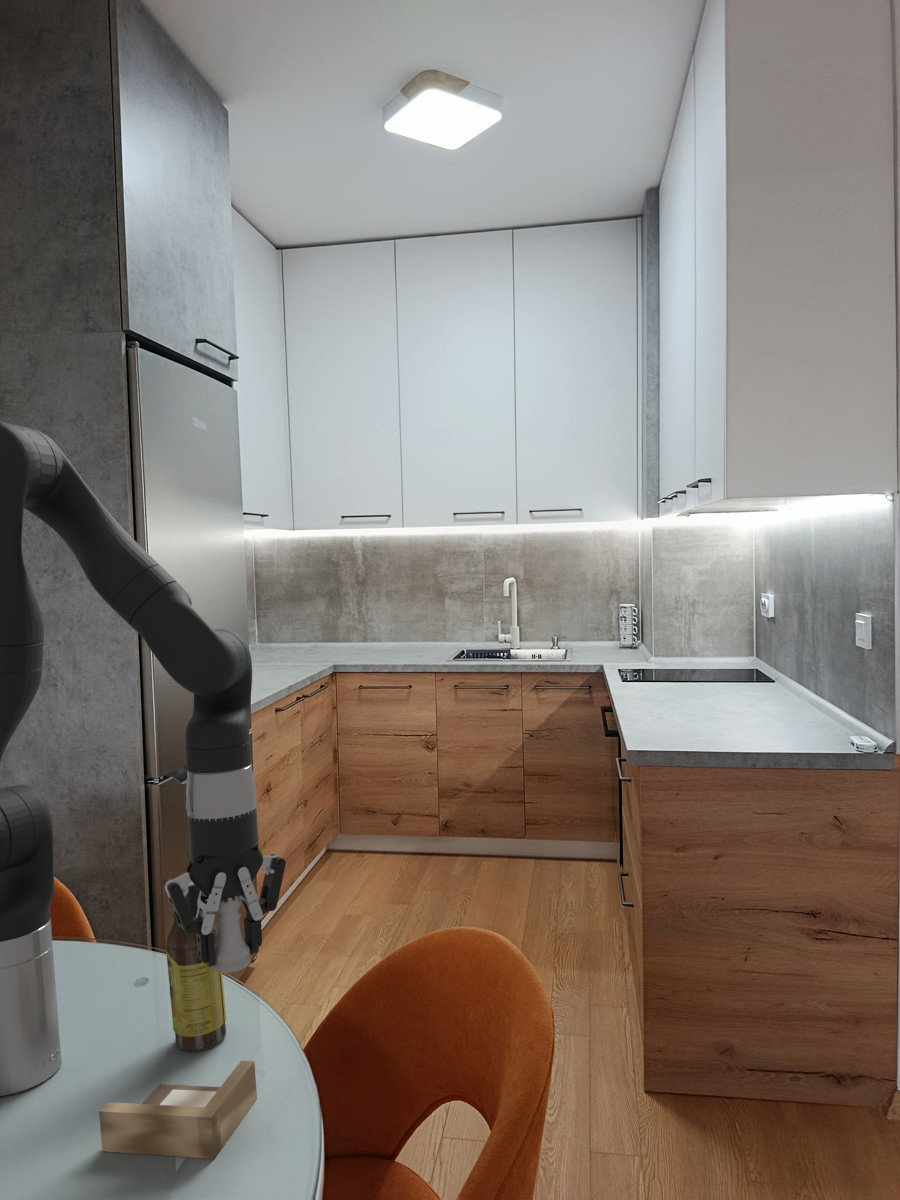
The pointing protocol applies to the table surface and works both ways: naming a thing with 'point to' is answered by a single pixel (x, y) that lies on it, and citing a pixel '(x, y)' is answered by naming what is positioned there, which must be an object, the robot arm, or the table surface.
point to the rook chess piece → (230, 938)
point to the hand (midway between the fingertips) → (231, 956)
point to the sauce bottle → (194, 988)
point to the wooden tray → (180, 1118)
